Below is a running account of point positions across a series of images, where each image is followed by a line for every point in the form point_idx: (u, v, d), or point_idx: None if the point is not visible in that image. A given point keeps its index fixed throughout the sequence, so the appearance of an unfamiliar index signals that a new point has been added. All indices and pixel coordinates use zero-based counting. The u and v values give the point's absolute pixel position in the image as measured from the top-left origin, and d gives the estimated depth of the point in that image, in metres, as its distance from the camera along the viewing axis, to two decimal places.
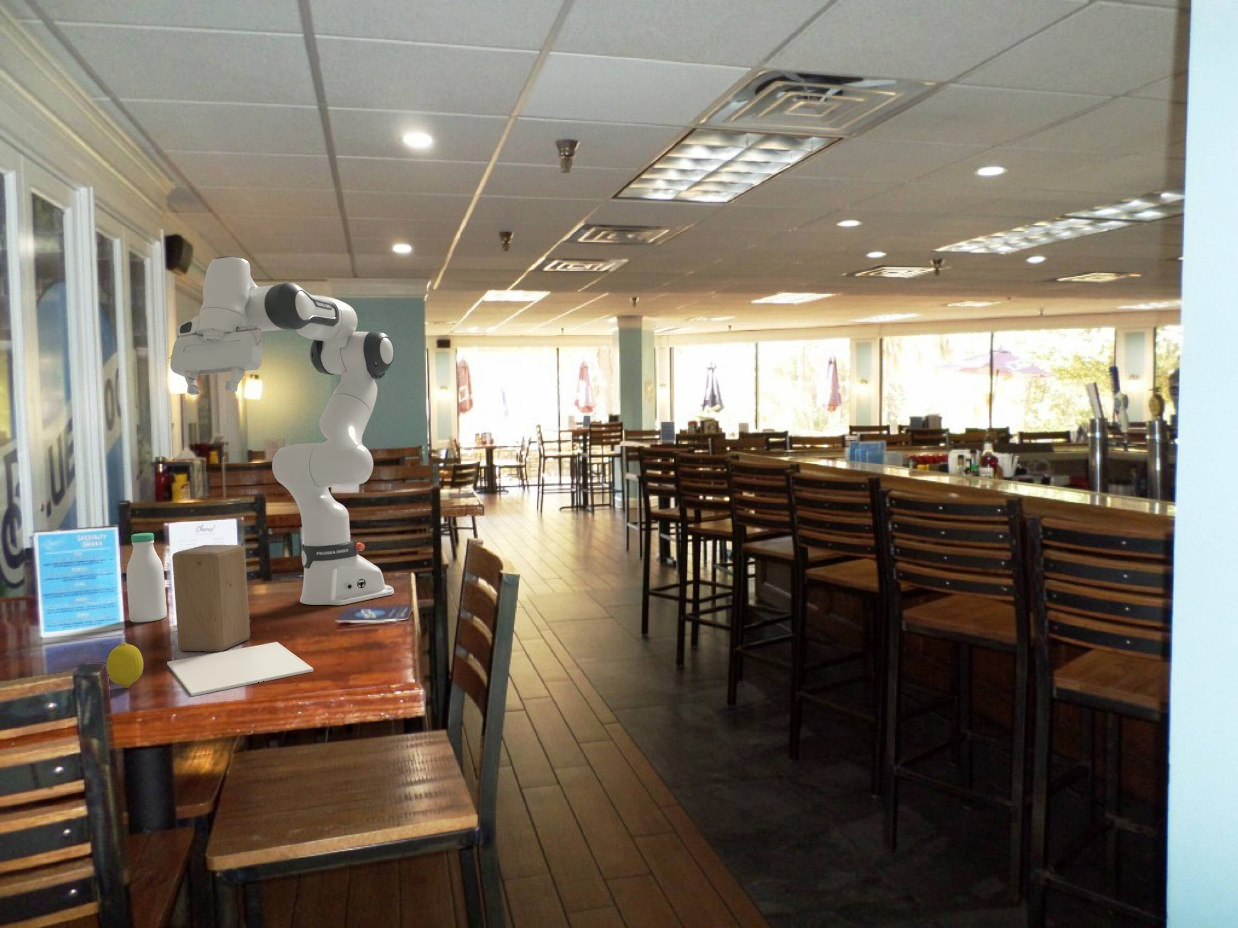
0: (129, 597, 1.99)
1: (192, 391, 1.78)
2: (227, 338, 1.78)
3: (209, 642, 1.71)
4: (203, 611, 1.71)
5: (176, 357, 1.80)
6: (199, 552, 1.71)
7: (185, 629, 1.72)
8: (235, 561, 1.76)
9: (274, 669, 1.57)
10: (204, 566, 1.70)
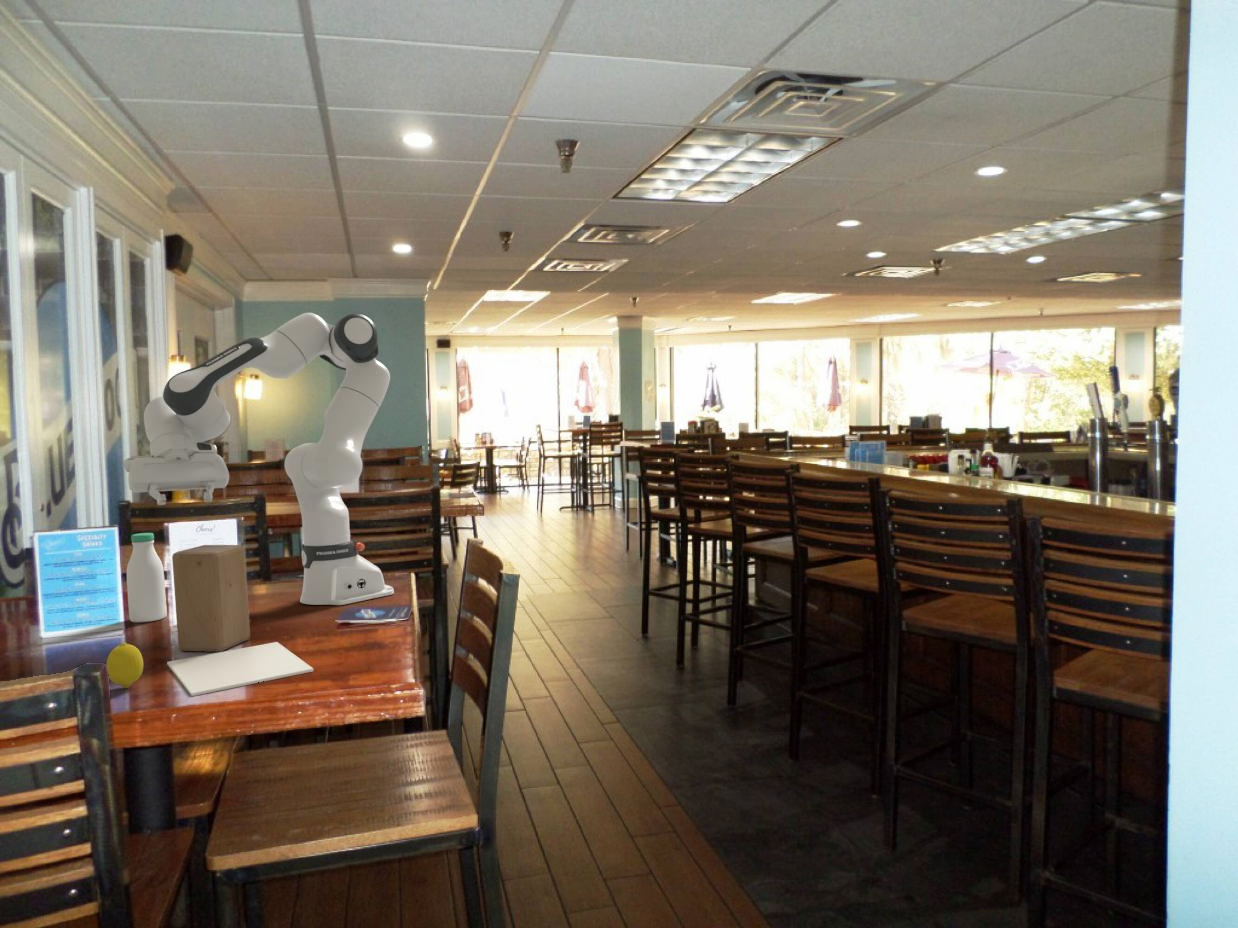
0: (129, 597, 1.99)
1: None
2: None
3: (209, 642, 1.71)
4: (203, 611, 1.71)
5: None
6: (199, 552, 1.71)
7: (185, 629, 1.72)
8: (235, 561, 1.76)
9: (274, 669, 1.57)
10: (204, 566, 1.70)
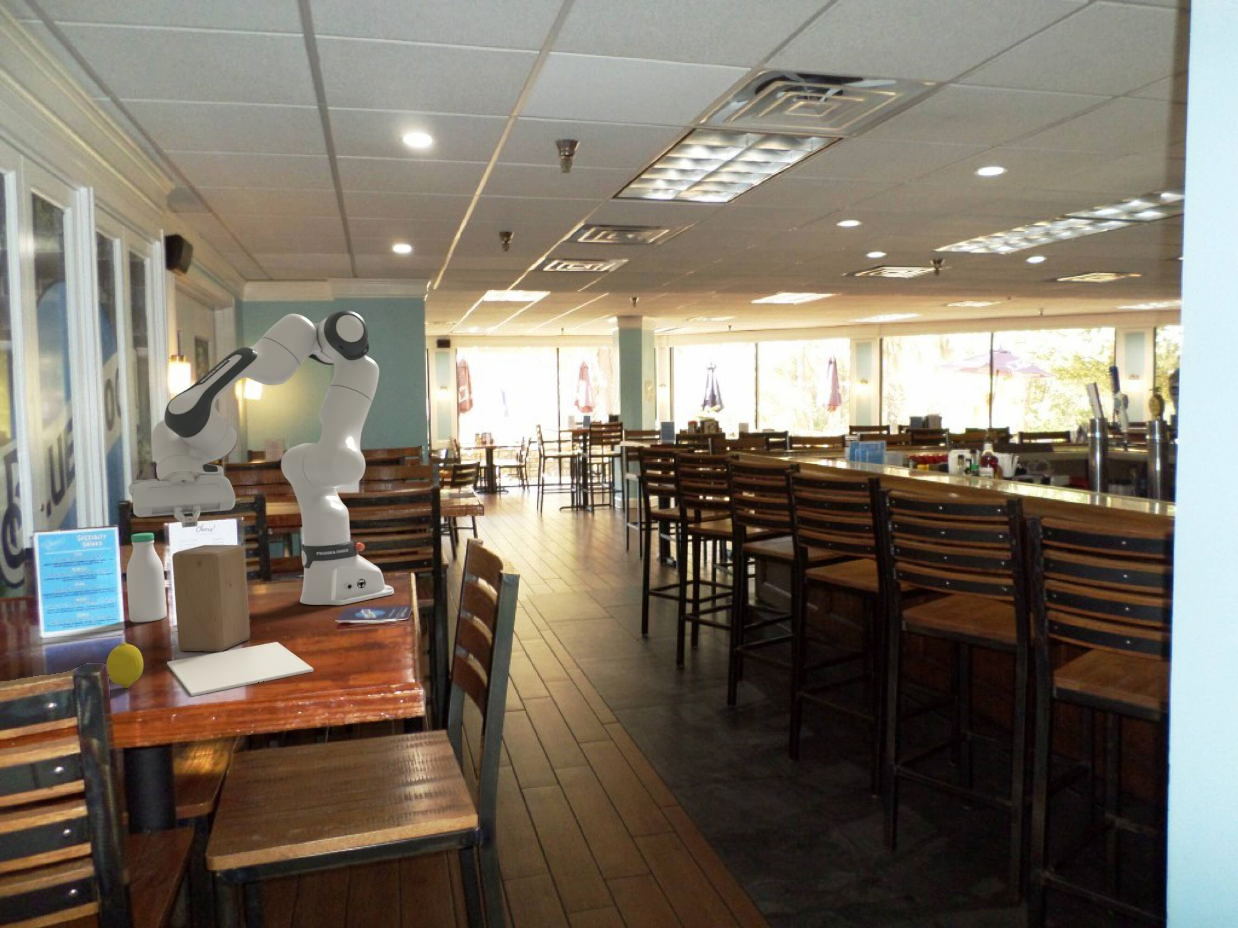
0: (129, 597, 1.99)
1: None
2: None
3: (209, 642, 1.71)
4: (203, 611, 1.71)
5: None
6: (199, 552, 1.71)
7: (185, 629, 1.72)
8: (235, 561, 1.76)
9: (274, 669, 1.57)
10: (204, 566, 1.70)
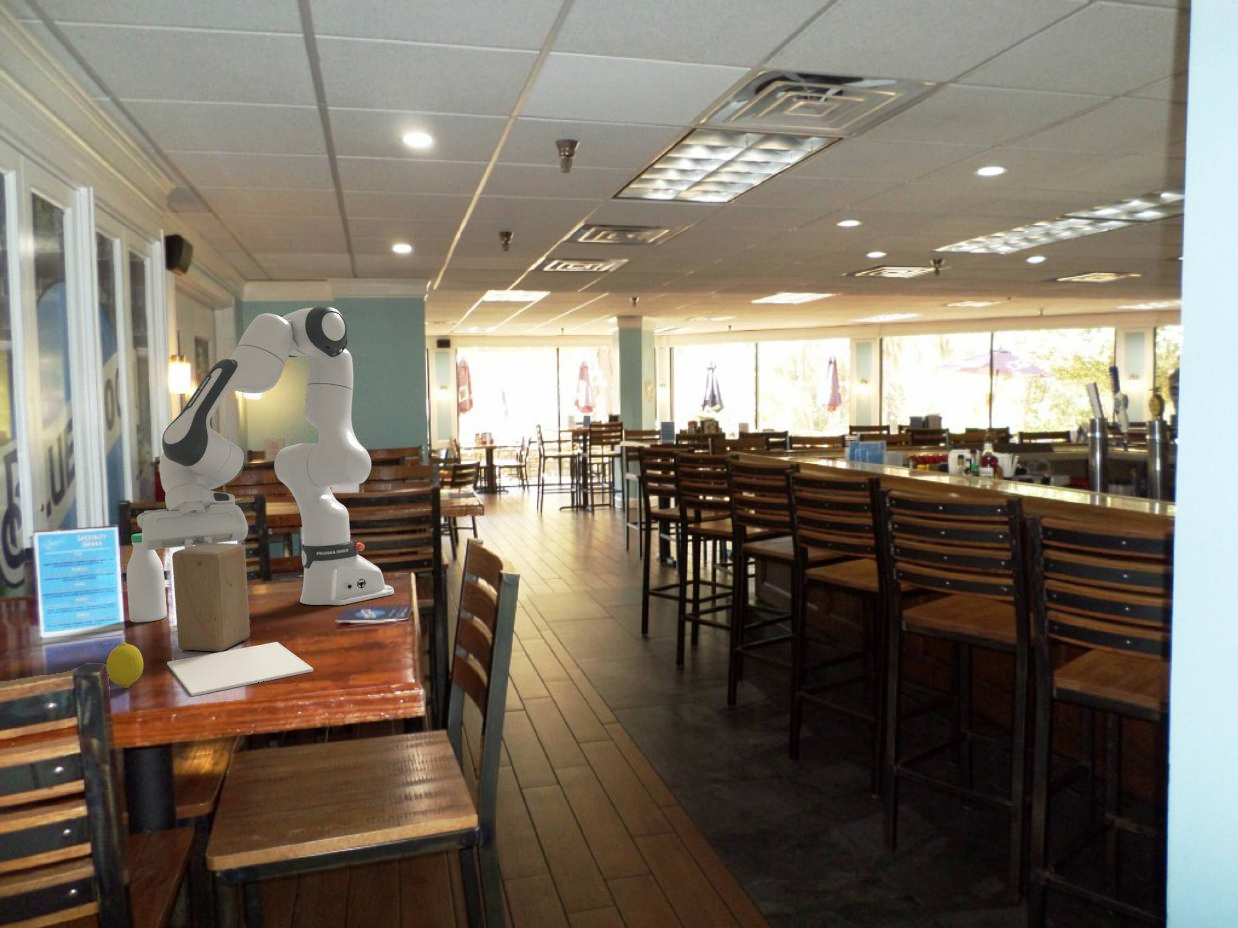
0: (129, 597, 1.99)
1: None
2: None
3: (209, 642, 1.71)
4: (203, 611, 1.70)
5: None
6: (199, 552, 1.70)
7: (185, 628, 1.72)
8: (235, 561, 1.75)
9: (274, 669, 1.57)
10: (204, 566, 1.69)
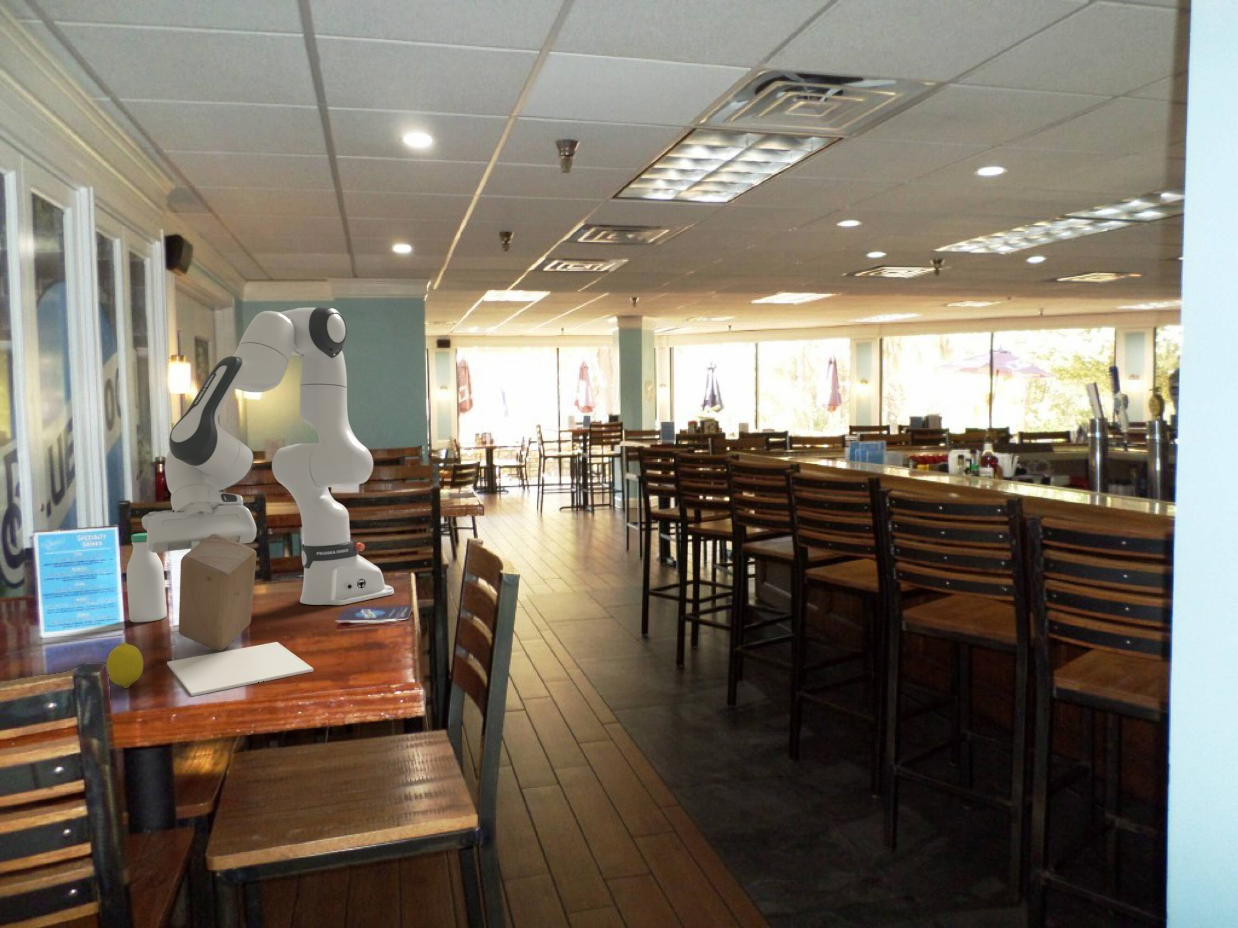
0: (129, 597, 1.99)
1: None
2: None
3: (210, 641, 1.70)
4: (207, 617, 1.67)
5: None
6: (210, 567, 1.62)
7: (187, 622, 1.69)
8: (246, 570, 1.68)
9: (274, 669, 1.57)
10: (214, 583, 1.62)
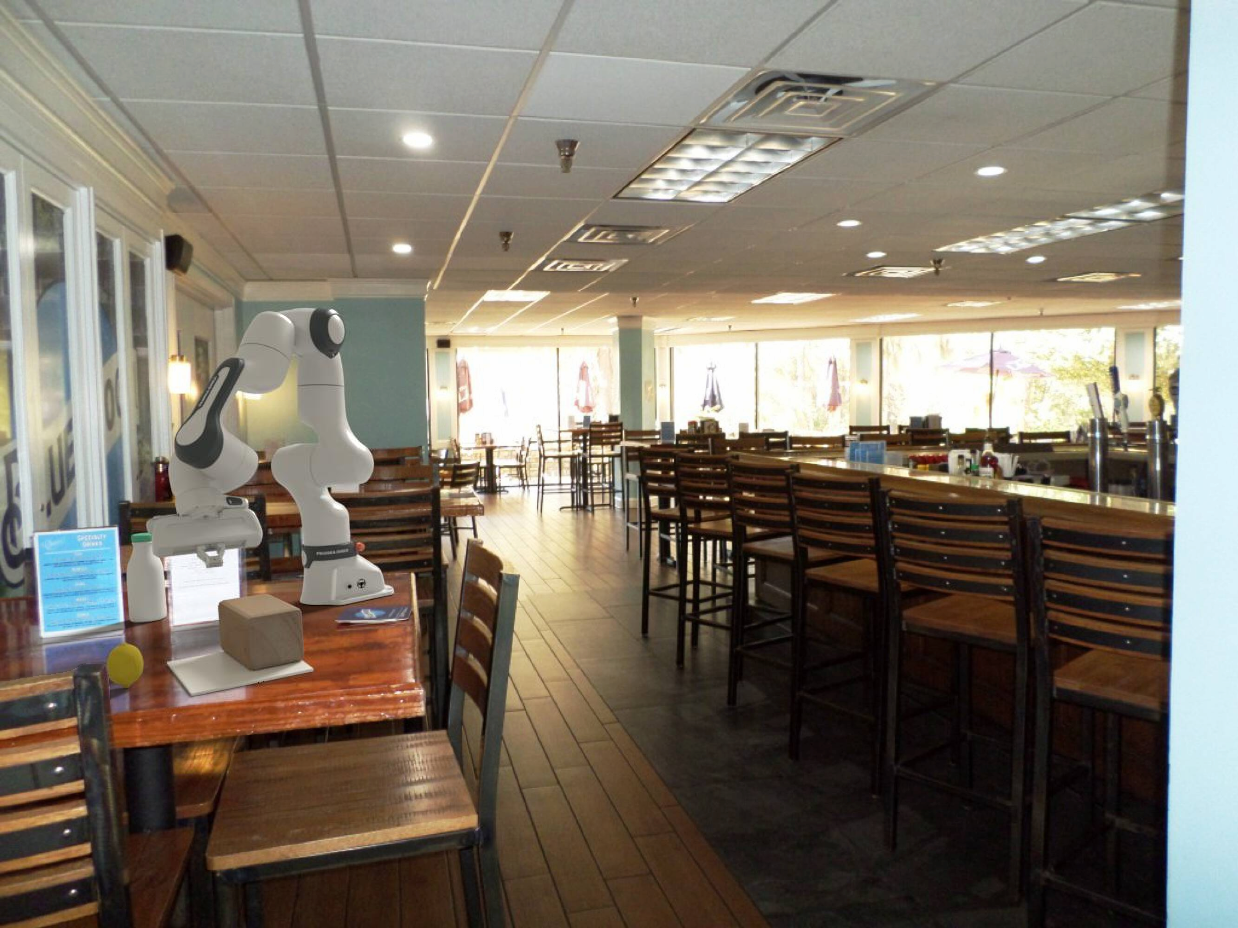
0: (129, 597, 1.99)
1: None
2: None
3: (221, 640, 1.69)
4: (230, 641, 1.64)
5: None
6: (253, 650, 1.56)
7: (223, 615, 1.67)
8: None
9: (274, 669, 1.57)
10: (244, 656, 1.57)
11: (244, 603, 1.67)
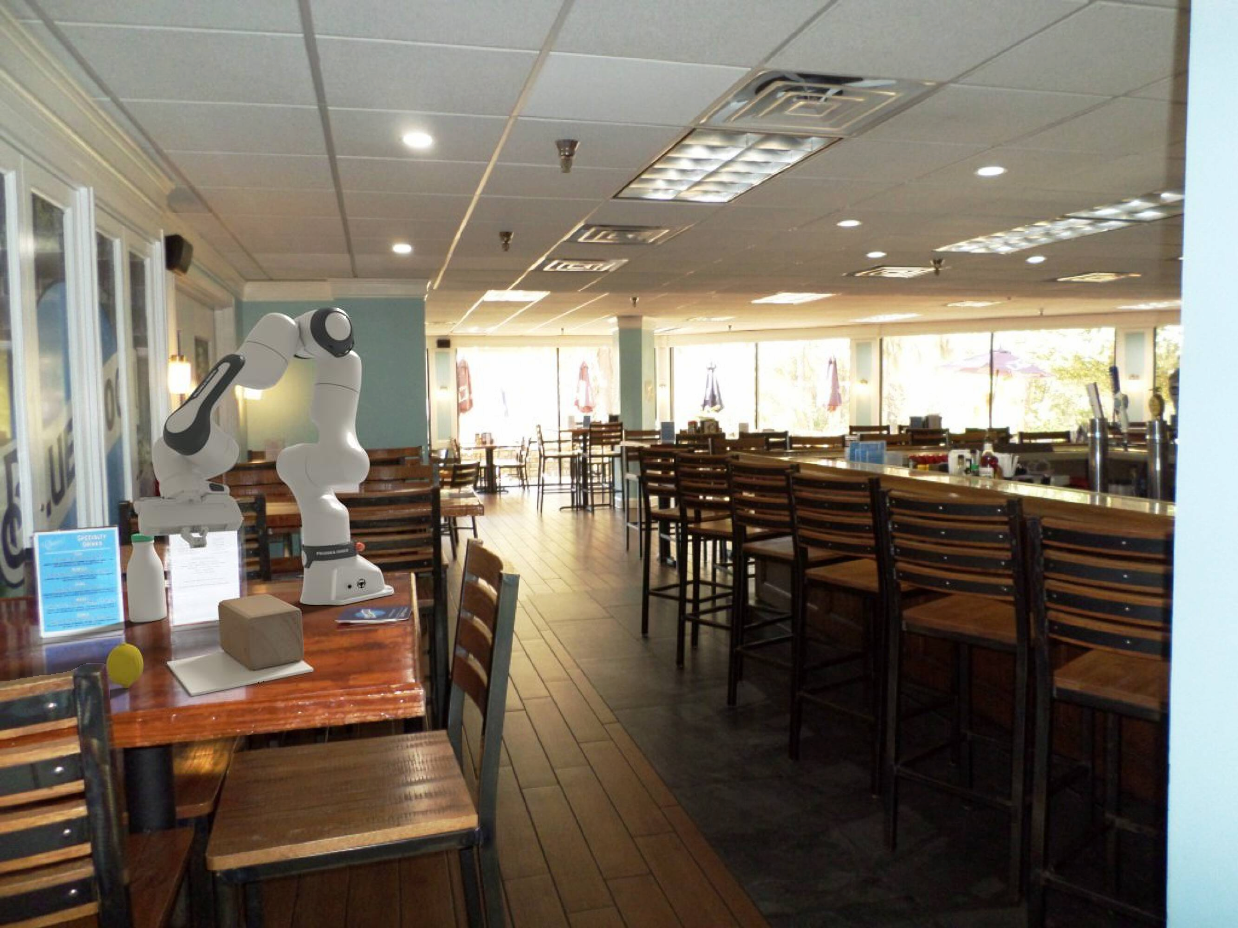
0: (129, 597, 1.99)
1: None
2: None
3: (221, 640, 1.69)
4: (230, 641, 1.64)
5: None
6: (253, 649, 1.56)
7: (223, 615, 1.67)
8: None
9: (274, 669, 1.57)
10: (244, 656, 1.57)
11: (244, 603, 1.67)
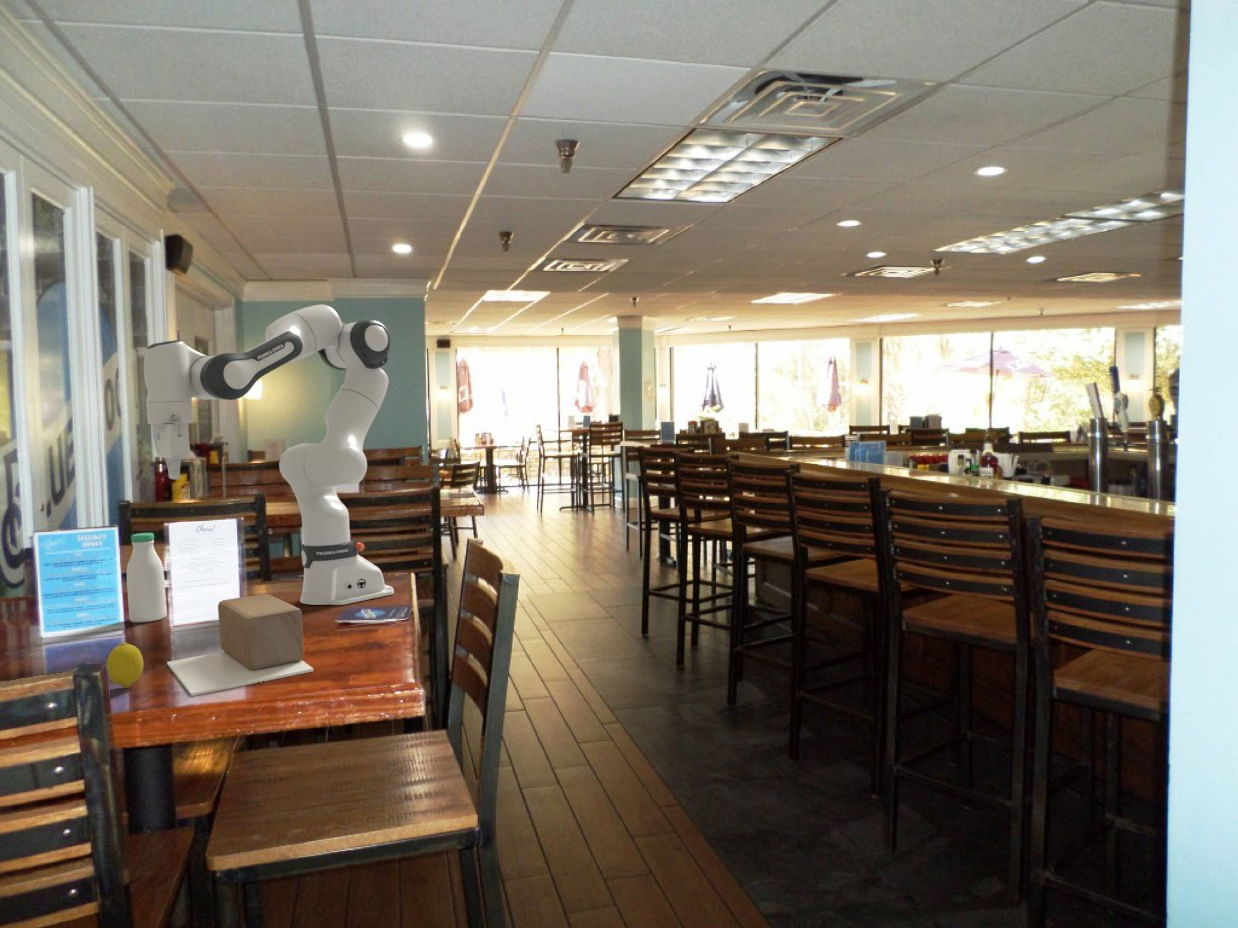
0: (129, 597, 1.99)
1: (170, 477, 1.90)
2: (164, 430, 1.85)
3: (221, 640, 1.69)
4: (230, 641, 1.64)
5: (156, 444, 1.95)
6: (253, 649, 1.56)
7: (223, 615, 1.67)
8: None
9: (274, 669, 1.57)
10: (244, 656, 1.57)
11: (244, 603, 1.67)
